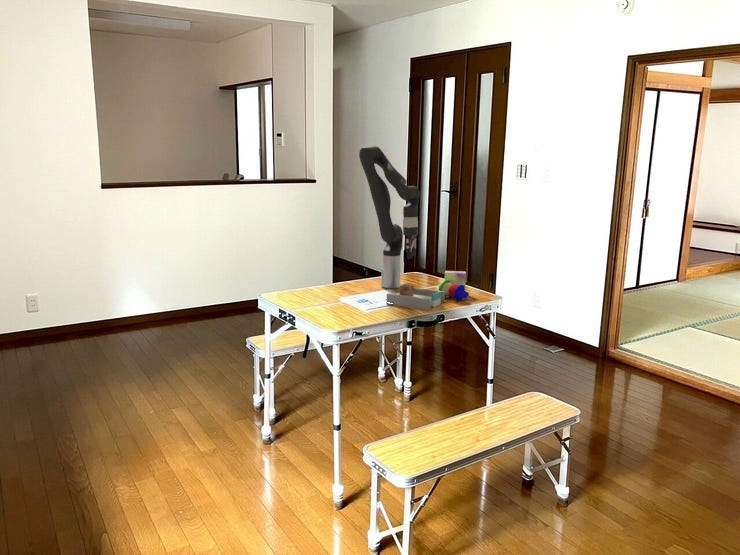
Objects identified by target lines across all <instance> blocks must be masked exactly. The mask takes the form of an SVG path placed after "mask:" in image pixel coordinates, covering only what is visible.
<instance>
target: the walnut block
mask: <svg viewBox="0 0 740 555" xmlns="http://www.w3.org/2000/svg"><path fill="white" fill-rule="evenodd" d="M414 286H415V285H414V284H410V283H403V284H400V287H399V293H400V295H404V296H413V295H414V288H415V287H414Z"/></svg>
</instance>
